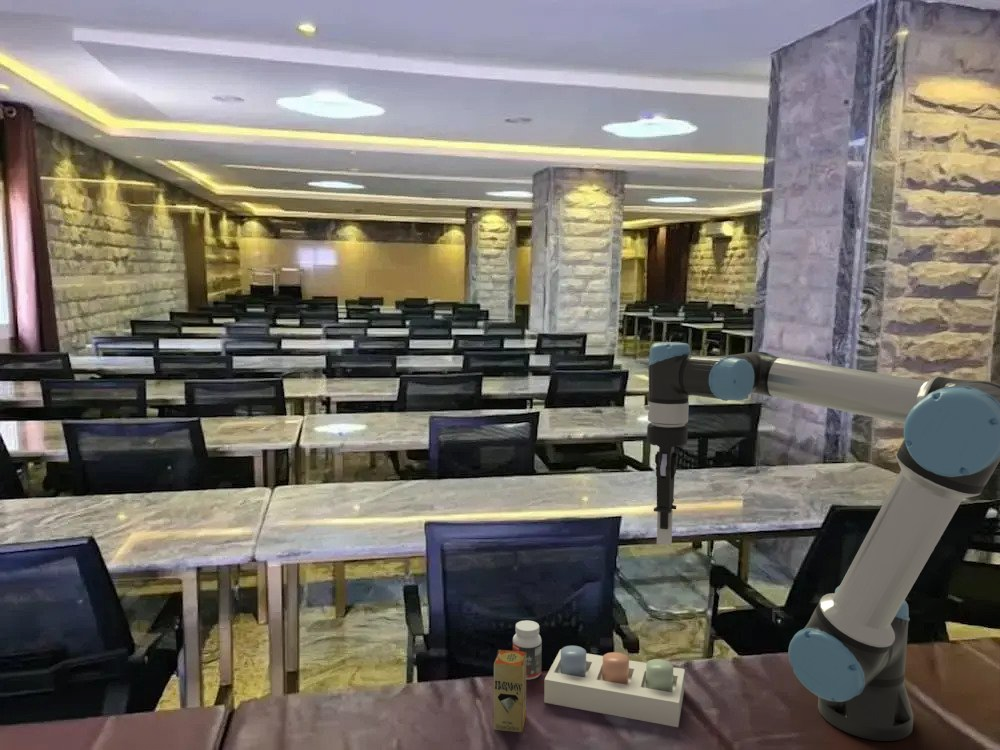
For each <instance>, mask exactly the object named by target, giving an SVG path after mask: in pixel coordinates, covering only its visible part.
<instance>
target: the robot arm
mask: <svg viewBox="0 0 1000 750" xmlns="http://www.w3.org/2000/svg"><path fill="white" fill-rule="evenodd" d="M691 353H692V352H691V346H690V344H689V343H687V342H686V343H685V342H674V341H672V342H671V341H666V342H665V341H664V342H663V341H661V342H655V343H652V345H651V346H650V348H649V357H648V358H649V360H648V365H647V367H648V397H647V399H648V401H647V404H646V405H645V406H644V410H646V411H648V412H647V421H648V422H649V423H648V424H647V426H646V427H647V428H646V430H647V432H646V441H647V443H648V444H649V445H652V446H657V447H659V449H658V450H657V451H656V454H654V455H655V457H654V463H655V476H656V506H655V507H653V512H656V513H657V518H656V519H657V520H656V522H657V523H656V545H657V544H658V545H664V546H672V542H673V541H672V539H673V510H677V505H676V504H675V505H674V502H675V498H674V496H675V495H674V494H675V493H674V492H675V491H674V490H675V475H676V473H677V462H678V460H679V459H678V458H679V453H678V452H675V447H676V448H679V447H684V446H686V445H687V443H688V433H689V431H688V430H689V429H688V426H687V425H686V424H688V422H689V411H690V410H689V409H690V408H689V406H690V401H689V397H691V396H695V397H702V398H709V399H717V400H722V401H724V402H726V401H739V402H740V401H744V400H745V399H747V398H748V395H750V394H759V395H763V396H768V397H773V398H778V399H784V400H788V401H792V402H798V403H804V404H807V405H808V404H809V405H812V406H817V407H821V408H827V409H830V410H837V411H840V412H846V413H850V414H856V415H860V416H865V417H870V418H875V419H880V420H884V421H890V422H894V423H899V424H903V441H902V443H901V445H900V446H899V448H898V451H897V452H896V455H895V458H896V461H897V464H898V466H899V469H900V472H899V473H898V475H897V476H896V479H895V481H894V483H893V485H892V486H891V489H890V491H889V492H888V494H887V496H886V498H885V500H884V502H883V504H882V505H881V507H880V510H879V511H878V512H877V514H876V516H875V519H874V520H873V522H872V525H871V527H870V528H869V530H868V531H867V533H866V536H865V538H864V539H863V542H862V543H861V545H860V547H859V549H858V551H857V553H856V554H855V556H854V559H853V560H852V562H851V564H850V566H849V567H848V570H847V572H846V573H845V576H844V577H843V580H842V581H841V583H840V585H838V586H837V587H836V588H835V590H834V593H833V592H832V593H826V594H825V595H823V596H821V598H820V600H819V602H818V603H817V606H816V608H815V609H814V611H813V613H812V614H811V616H810V619H809V621H808V622H807V624H806V625H805V627H804V628H803V629H800V630H798V631H797V632H795V634H794V635H793V637H792V639H791V640H790V642H789V644H788V645H789V646H788V652H787V653H788V655H787V656H788V661H789V664H790V666H791V667H792V670H793V674H794V675H795V677H796V678H797V679H798V680H799V682H800V684H802V685H803V686H804V687H805V688H806V689H807V690H808V691H809V692H811V693H812V694H814V695H815V696H816V697H817V699H818V700H817V709H818V712H819V714H820V715H821V716H822V718H823V719H824V720H825V721H827V723H829V724H830V725H832V727H835V728H837V729H839V730H840V731H843V732H844V733H847V734H849V735H852V736H855V737H858V738H861V739H865V740H871V741H876V742H878V741H879V742H894V741H895V742H896V741H901V740H903V739H905V738H907V737H909V736H910V735H911V734H912V732H913V728H914V712H913V709H912V705H911V701H910V699H909V696H908V691H907V689H906V685H905V673H906V661H907V660H906V659H907V648H908V647H907V646H908V645H907V644H908V629H909V622H910V619H911V618H910V617H909V615H910V614H909V604H908V603H907V601H906V598H907V597H908V595H909V593H910V592H911V590H912V588H913V586H914V584H915V583H916V581H917V580H918V577H919V576H920V573H922V570H923V569H924V567H925V565H926V563H928V560H929V558H930V556H931V555H932V553H933V552H934V550H935V547H936V546H937V545H938V543H939V542H940V540H941V537H942V536H943V535H944V532H945V531H946V529H947V527H948V525H949V523H950V522H951V521H952V519H953V517H954V515H955V513H956V512H957V510H958V508H959V506H960V504H961V503H962V501H963V500H965V499H968V498H973V497H977V496H980V495H981V493H982V491H983V490H984V488H985V486H986V485H987V483H988V481H990V478H991V476H993V473H994V471H995V469H996V468H997V467H998V465H999V463H1000V384H999V383H998V382H997V383H996V382H993V381H990V380H989V381H988V380H987V381H986V380H969V379H958V378H949V377H944V376H943V377H942V376H935V377H933V378H931V379H929V380H922V379H916V378H910V377H903V376H900V375H899V376H897V375H891V374H887V373H886V374H885V373H880V372H875V371H874V372H873V371H868V370H862V369H855V368H848V367H842V366H838V365H837V366H836V365H831V364H825V363H820V362H814V361H813V362H812V361H806V360H801V359H794V358H788V357H782V356H775V355H774V354H772V353H770V352H767V351H759V350H758V351H757V350H754V351H750V352H745V353H737V354H736V353H735V354H729V355H728V354H727V355H717V356H712V355H698V354H691Z"/></svg>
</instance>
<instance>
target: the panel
mask: <svg viewBox="0 0 1000 750" xmlns="http://www.w3.org/2000/svg"><path fill="white" fill-rule="evenodd" d="M561 649H562V648H561ZM561 649H559V651H558V653H557V654H556V657H555V659H553V663H552V664H551V666H550V668H549V670H548V672H547V674H546V676H544V677H545V678H544V681H543V682H544V690H543V691H544V697H543V701H544V704H550V705H556V706H560V707H566V708H572V709H577V710H578V709H579V710H582V711H588V712H591V713H592V712H593V713H598V714H599V713H600V714H604V715H610V716H615V717H620V718H626V719H630V720H638V721H642V722H648V723H653V724H657V725H658V724H659V725H664V726H668V727H669V726H670V727H673V728H679V726H680V719H681V712H682V707H683V700H684V695H685V694H684V693H685V673H686V670H685V669H684V668H681V667H674V666H673V690H672V691H671V692H666V691H661V690H655V689H649V688H647V687H646V664H647V662H643V661H637V660H630V659H629V681H628V683H627V684H620V683H614V682H608V681H603V679H602V673H603V656H604V655H599V654H592V653H587V652H586V674H585V676H583V677H579V676H573V675H567V674H561V672H560V671H561Z"/></svg>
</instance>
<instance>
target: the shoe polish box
mask: <svg viewBox="0 0 1000 750" xmlns="http://www.w3.org/2000/svg"><path fill="white" fill-rule="evenodd" d="M526 718H527V680H526V652H521V651H513V650H508V649H507V650H505V649H497V654H496V656H495V660H494V662H493V730H495V731H503V732H505V731H506V732H514V733H523V731H524V727H525V721H526Z"/></svg>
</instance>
